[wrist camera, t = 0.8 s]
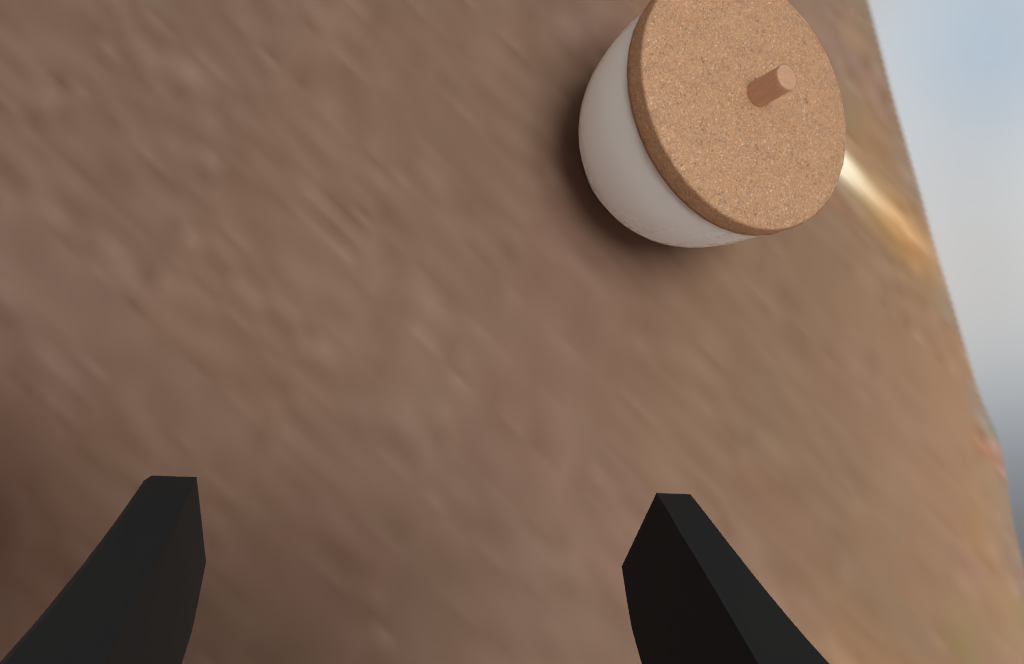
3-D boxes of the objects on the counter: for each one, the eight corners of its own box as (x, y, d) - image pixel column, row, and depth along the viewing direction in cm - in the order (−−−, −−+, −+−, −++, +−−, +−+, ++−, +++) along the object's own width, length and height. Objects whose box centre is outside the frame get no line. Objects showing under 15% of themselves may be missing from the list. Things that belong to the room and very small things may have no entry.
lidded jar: (719, 287, 35) (890, 241, 27) (534, 252, 31) (671, 184, 22) (718, 92, 37) (877, -7, 29) (542, 32, 33) (672, -106, 24)
